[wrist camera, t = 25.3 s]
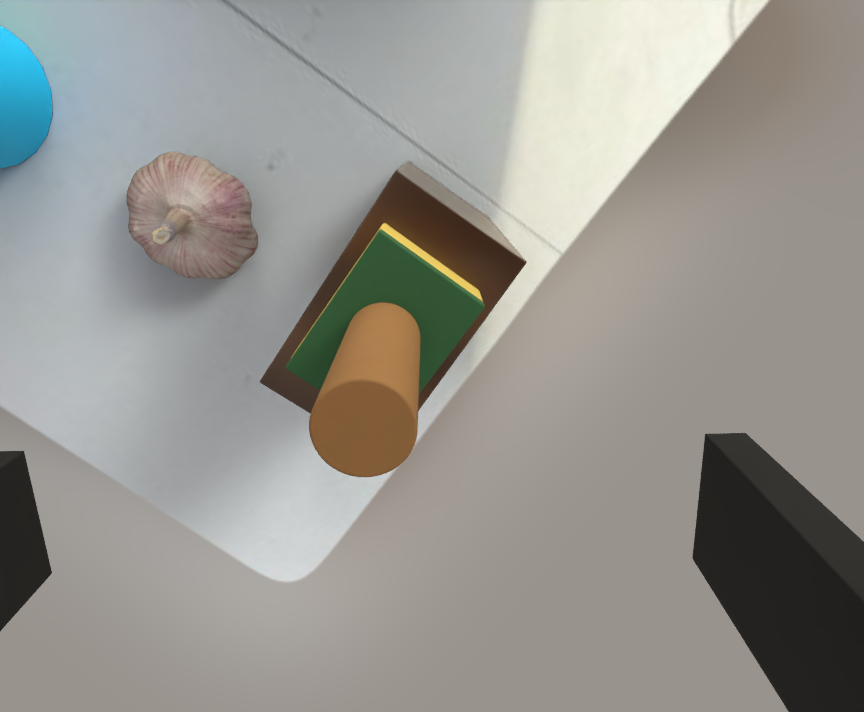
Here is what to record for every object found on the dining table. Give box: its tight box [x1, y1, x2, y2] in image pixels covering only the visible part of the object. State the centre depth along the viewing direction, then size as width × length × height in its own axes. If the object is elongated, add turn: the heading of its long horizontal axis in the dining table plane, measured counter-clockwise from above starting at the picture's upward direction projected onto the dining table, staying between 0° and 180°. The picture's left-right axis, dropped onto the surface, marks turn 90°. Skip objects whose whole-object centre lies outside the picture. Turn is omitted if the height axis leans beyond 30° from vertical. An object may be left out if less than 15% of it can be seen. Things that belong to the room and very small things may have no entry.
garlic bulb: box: [127, 152, 258, 279], centre depth 37 cm, size 8×7×8 cm
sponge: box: [285, 223, 485, 477], centre depth 21 cm, size 6×4×11 cm
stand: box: [260, 161, 526, 413], centre depth 34 cm, size 10×6×16 cm, turn 146°
